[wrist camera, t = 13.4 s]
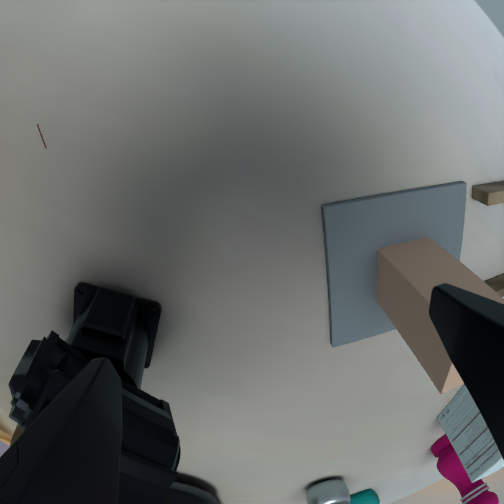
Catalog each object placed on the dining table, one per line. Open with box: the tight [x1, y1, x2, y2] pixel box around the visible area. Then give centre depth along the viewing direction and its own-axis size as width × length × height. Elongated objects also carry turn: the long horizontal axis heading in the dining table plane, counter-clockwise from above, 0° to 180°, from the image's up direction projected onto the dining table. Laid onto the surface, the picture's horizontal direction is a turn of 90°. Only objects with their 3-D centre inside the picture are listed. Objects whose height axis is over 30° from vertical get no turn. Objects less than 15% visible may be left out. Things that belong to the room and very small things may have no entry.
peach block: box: [376, 237, 504, 394], centre depth 18 cm, size 4×4×10 cm
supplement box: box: [437, 385, 504, 483], centre depth 30 cm, size 7×7×13 cm
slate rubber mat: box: [322, 181, 467, 347], centre depth 23 cm, size 12×12×1 cm
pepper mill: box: [431, 435, 499, 504], centre depth 32 cm, size 7×7×20 cm
